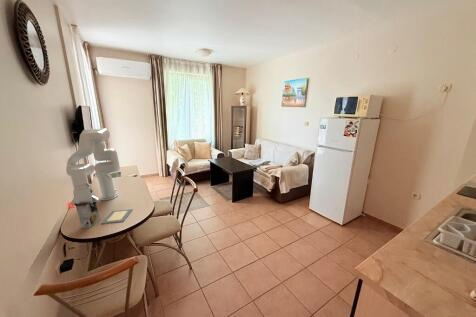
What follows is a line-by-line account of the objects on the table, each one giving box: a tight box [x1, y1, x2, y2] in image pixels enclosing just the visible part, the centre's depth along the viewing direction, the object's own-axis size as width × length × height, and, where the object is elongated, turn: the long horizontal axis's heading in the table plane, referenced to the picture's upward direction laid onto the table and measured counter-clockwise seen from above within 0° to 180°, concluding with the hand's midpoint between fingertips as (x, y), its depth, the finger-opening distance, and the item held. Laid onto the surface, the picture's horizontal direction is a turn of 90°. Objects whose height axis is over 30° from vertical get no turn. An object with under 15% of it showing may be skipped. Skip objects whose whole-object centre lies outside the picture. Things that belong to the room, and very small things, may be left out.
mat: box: [100, 208, 134, 225], centre depth 134 cm, size 16×14×1 cm
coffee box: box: [75, 200, 101, 229], centre depth 125 cm, size 9×6×16 cm
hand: (88, 211), depth 124 cm, fingers closed on coffee box, 6 cm apart
